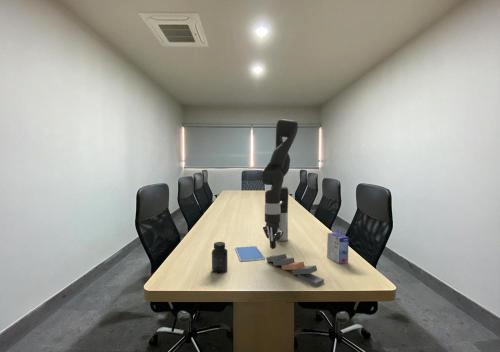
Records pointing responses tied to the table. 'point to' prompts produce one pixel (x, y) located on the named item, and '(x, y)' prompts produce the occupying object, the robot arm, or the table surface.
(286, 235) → the robot arm
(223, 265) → the supplement bottle
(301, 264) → the domino
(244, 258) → the blue flat board
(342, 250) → the ink cartridge box
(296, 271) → the domino
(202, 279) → the table surface
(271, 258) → the domino
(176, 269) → the table surface
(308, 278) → the domino
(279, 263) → the domino
